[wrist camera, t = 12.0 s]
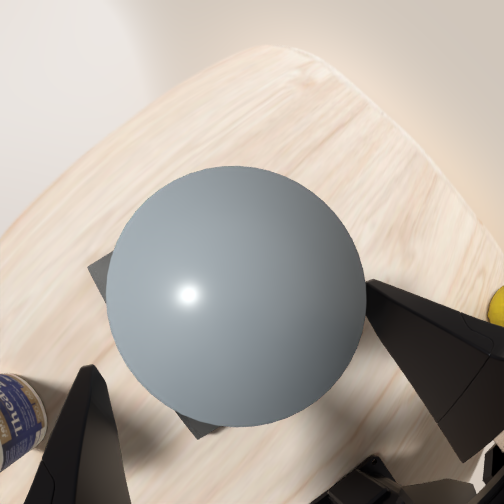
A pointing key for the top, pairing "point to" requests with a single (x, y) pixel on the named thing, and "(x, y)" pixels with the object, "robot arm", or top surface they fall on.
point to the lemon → (497, 308)
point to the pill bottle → (19, 419)
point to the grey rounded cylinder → (236, 296)
